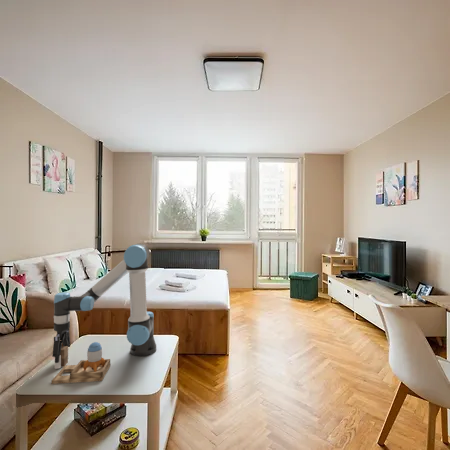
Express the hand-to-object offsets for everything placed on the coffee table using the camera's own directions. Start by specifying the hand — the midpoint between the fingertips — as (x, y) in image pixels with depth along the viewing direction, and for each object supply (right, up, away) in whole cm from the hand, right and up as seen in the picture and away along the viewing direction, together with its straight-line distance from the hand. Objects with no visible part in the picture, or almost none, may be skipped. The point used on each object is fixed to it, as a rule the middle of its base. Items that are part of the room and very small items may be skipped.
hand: (61, 363), depth 157 cm
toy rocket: (+21, +1, -9) cm, 22 cm away
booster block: (0, -1, 0) cm, 1 cm away
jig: (+16, -1, -10) cm, 19 cm away
